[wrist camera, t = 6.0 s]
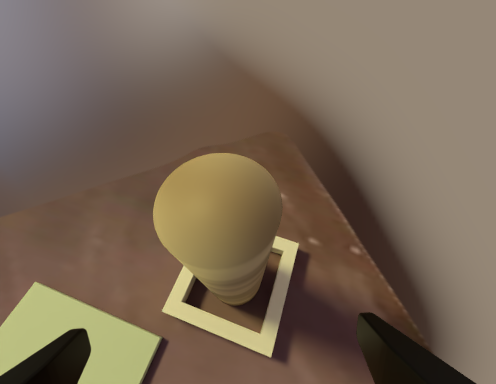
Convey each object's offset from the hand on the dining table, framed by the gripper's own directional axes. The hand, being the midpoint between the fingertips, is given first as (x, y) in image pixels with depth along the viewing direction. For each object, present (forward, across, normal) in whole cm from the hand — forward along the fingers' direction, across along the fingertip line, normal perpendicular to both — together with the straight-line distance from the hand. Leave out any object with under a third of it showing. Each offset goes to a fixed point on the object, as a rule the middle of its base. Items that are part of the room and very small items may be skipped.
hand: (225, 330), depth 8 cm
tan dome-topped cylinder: (+10, 0, +5) cm, 11 cm away
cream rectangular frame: (+10, 0, +5) cm, 11 cm away
